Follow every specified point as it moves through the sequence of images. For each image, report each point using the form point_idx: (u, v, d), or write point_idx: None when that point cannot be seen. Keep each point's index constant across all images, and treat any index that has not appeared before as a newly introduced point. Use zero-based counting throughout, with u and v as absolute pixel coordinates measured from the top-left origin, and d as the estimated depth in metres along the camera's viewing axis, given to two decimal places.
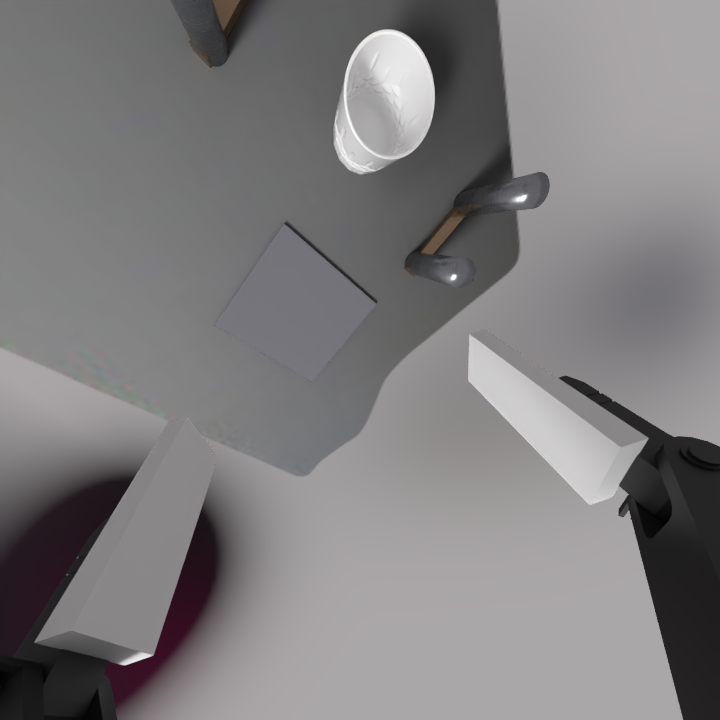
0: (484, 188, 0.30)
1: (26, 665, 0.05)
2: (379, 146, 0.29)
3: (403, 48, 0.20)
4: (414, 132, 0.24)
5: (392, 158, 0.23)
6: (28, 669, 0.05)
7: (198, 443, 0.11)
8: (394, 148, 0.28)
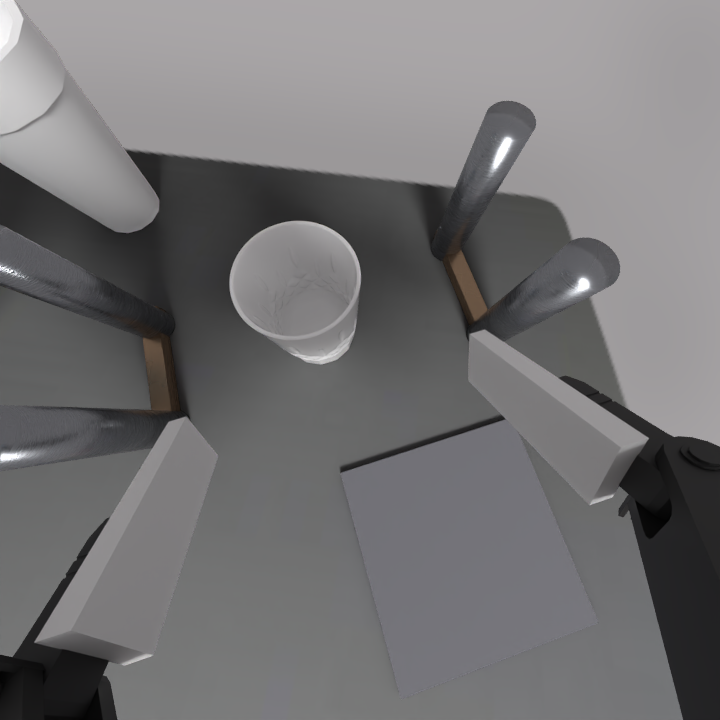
0: (449, 210, 0.22)
1: (26, 665, 0.05)
2: (335, 315, 0.23)
3: (265, 244, 0.17)
4: (344, 267, 0.18)
5: (352, 304, 0.15)
6: (28, 669, 0.05)
7: (198, 443, 0.11)
8: (346, 299, 0.22)
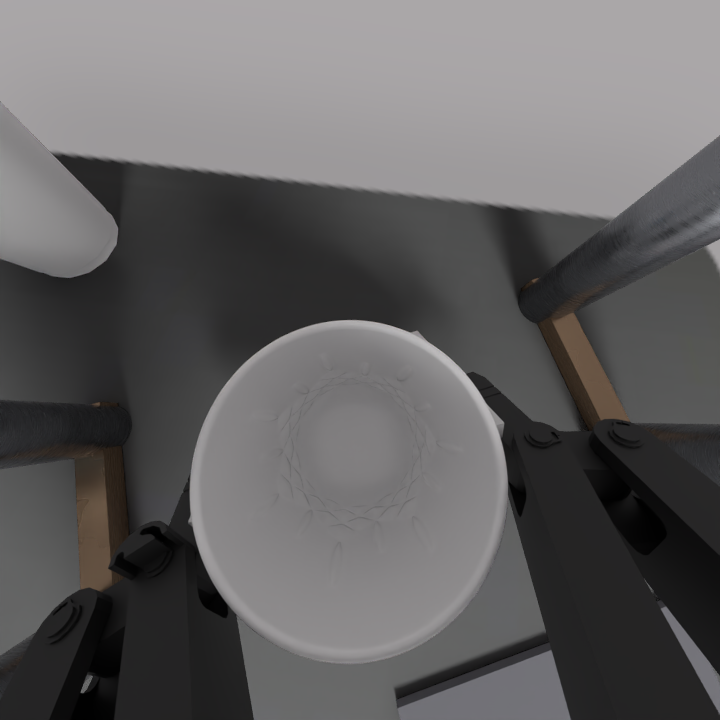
0: (586, 262, 0.13)
1: (186, 543, 0.07)
2: (385, 424, 0.14)
3: (275, 364, 0.08)
4: (430, 392, 0.09)
5: (496, 550, 0.06)
6: (187, 547, 0.07)
7: None
8: (410, 413, 0.13)
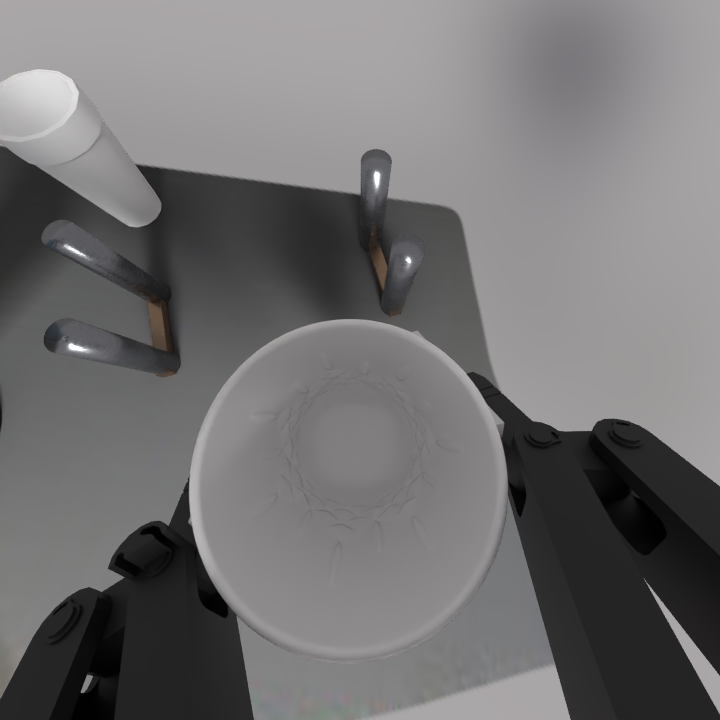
0: None
1: (186, 543, 0.07)
2: (385, 424, 0.14)
3: (275, 363, 0.08)
4: (430, 391, 0.09)
5: (495, 549, 0.06)
6: (187, 547, 0.07)
7: None
8: (410, 412, 0.13)
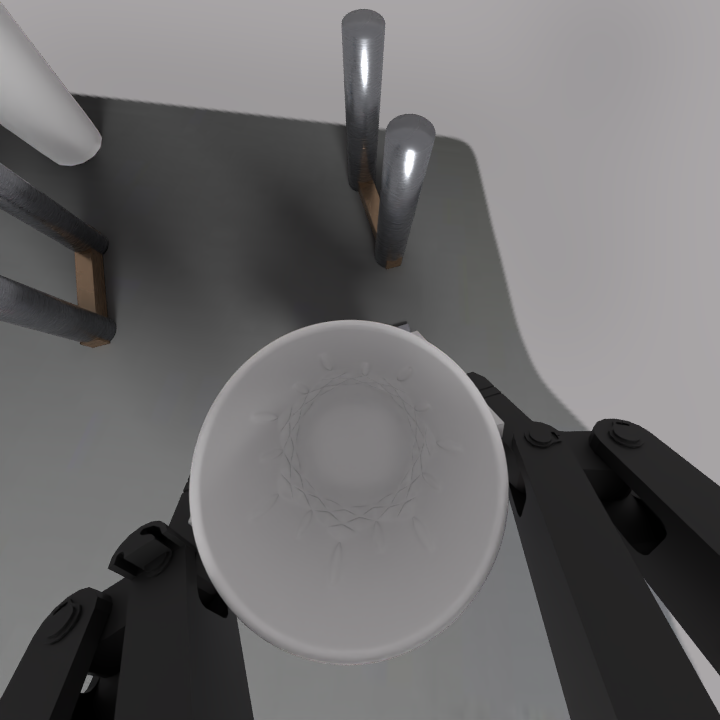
0: None
1: (186, 543, 0.07)
2: (385, 424, 0.14)
3: (275, 364, 0.08)
4: (430, 392, 0.09)
5: (496, 550, 0.06)
6: (187, 547, 0.07)
7: None
8: (410, 413, 0.13)
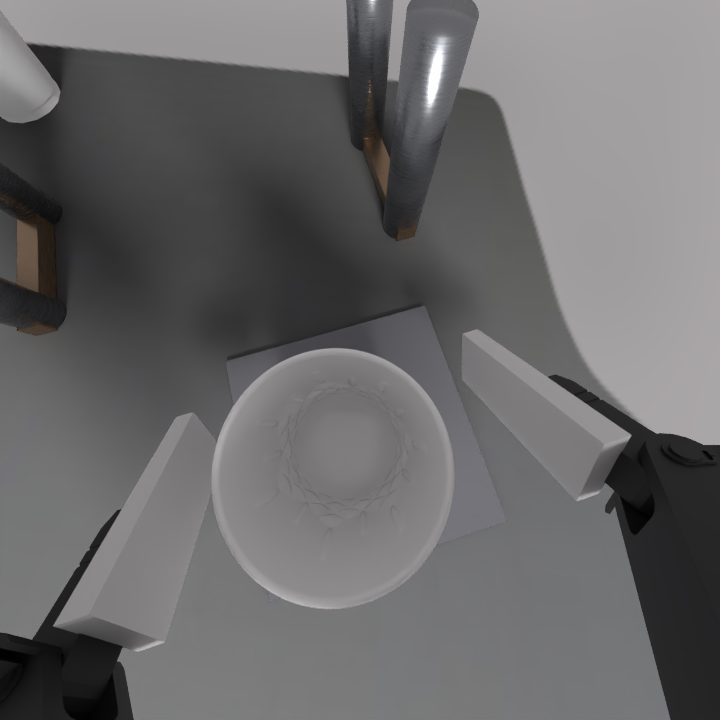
0: (349, 64, 0.19)
1: (46, 648, 0.05)
2: (372, 427, 0.16)
3: (275, 383, 0.10)
4: (403, 402, 0.11)
5: (443, 524, 0.08)
6: (48, 652, 0.05)
7: (205, 438, 0.11)
8: (392, 417, 0.15)
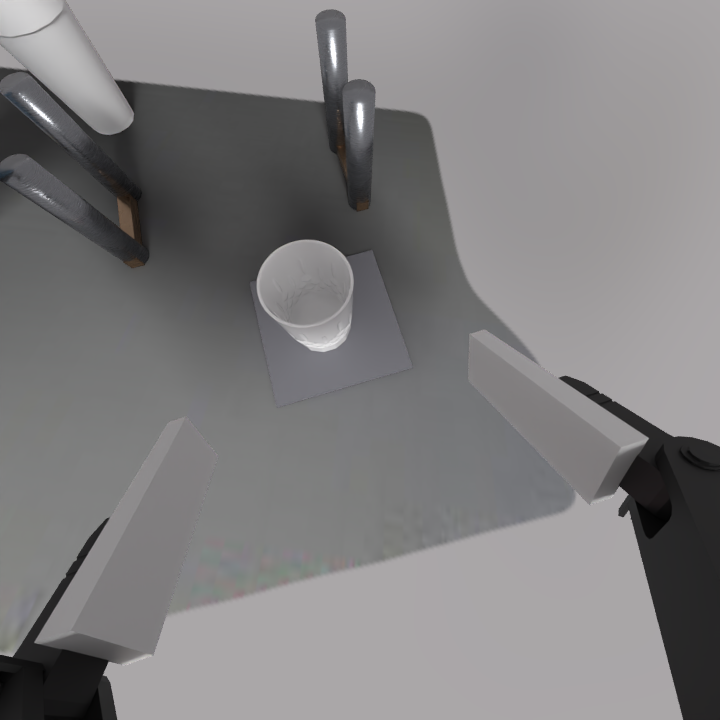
0: None
1: (26, 665, 0.05)
2: (335, 312, 0.29)
3: (281, 257, 0.22)
4: (341, 273, 0.23)
5: (347, 301, 0.20)
6: (28, 669, 0.05)
7: (198, 443, 0.11)
8: (343, 299, 0.27)
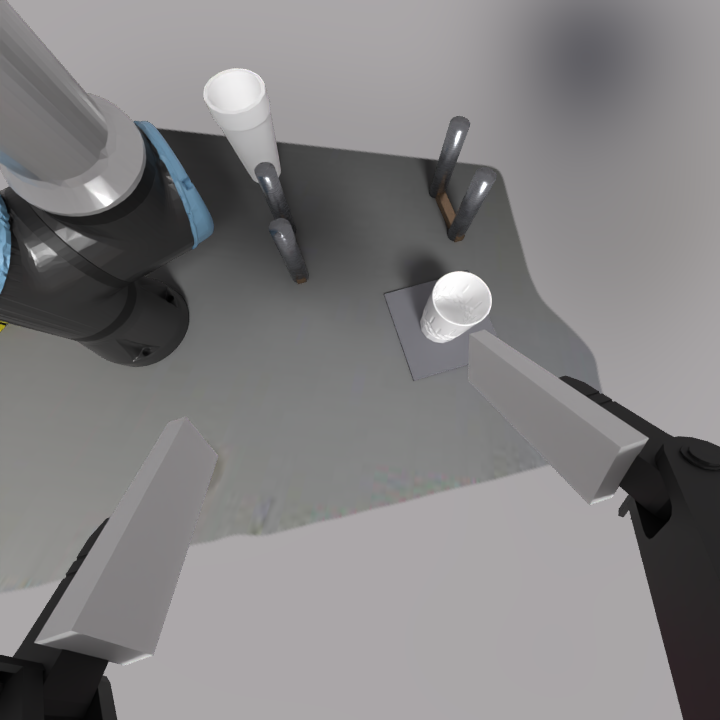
0: (437, 167, 0.45)
1: (26, 665, 0.05)
2: (452, 315, 0.42)
3: (441, 282, 0.35)
4: (473, 291, 0.37)
5: (489, 309, 0.34)
6: (28, 669, 0.05)
7: (198, 443, 0.11)
8: (463, 306, 0.40)
